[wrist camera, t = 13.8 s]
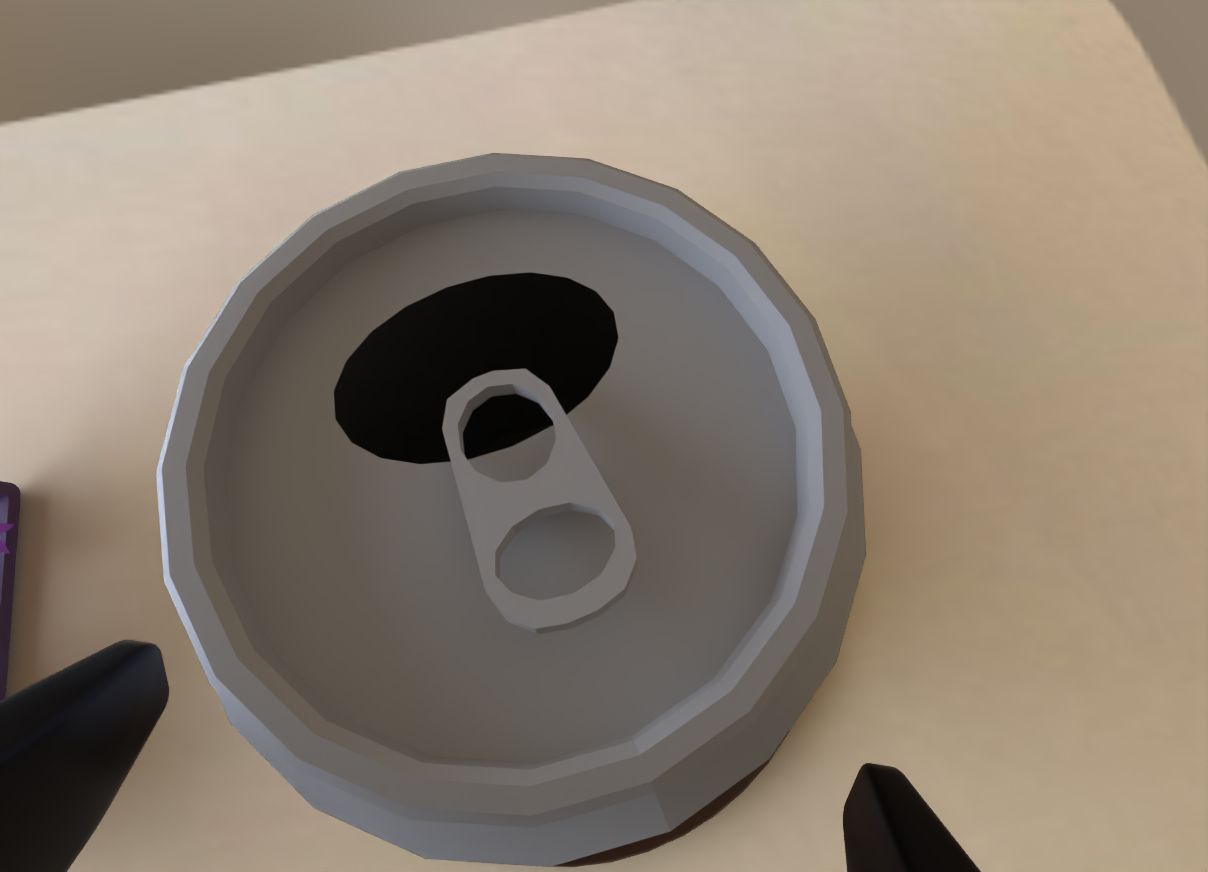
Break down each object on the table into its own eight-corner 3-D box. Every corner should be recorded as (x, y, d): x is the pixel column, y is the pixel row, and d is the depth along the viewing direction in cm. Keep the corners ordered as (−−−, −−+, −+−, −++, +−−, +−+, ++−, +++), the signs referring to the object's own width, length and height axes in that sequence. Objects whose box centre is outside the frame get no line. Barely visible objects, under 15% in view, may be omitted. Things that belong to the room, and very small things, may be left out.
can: (638, 393, 19) (707, -4, 8) (766, 661, 17) (1122, 669, 6) (371, 501, 18) (-12, 230, 7) (474, 799, 16) (176, 1152, 5)
